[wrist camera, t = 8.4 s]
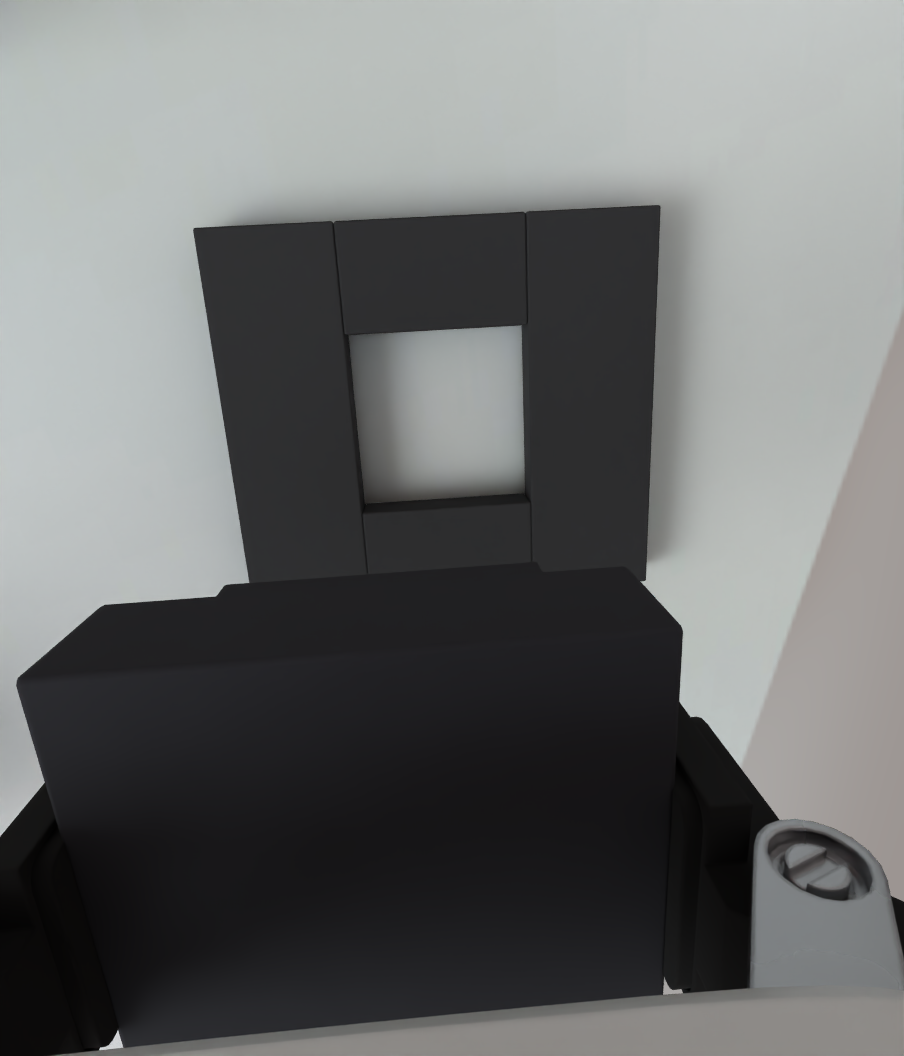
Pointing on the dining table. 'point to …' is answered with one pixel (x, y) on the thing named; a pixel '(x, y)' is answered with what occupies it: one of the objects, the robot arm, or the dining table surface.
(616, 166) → the dining table surface
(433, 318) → the base pad
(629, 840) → the plug pad
